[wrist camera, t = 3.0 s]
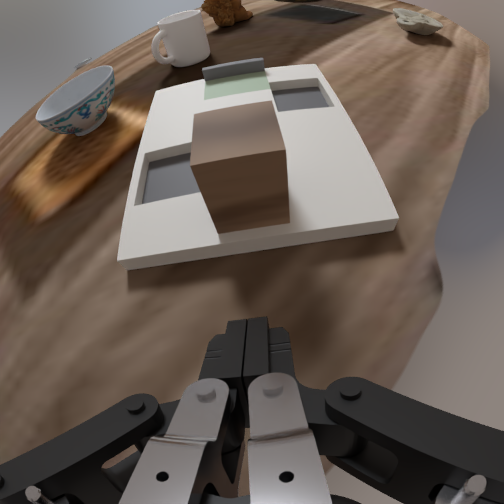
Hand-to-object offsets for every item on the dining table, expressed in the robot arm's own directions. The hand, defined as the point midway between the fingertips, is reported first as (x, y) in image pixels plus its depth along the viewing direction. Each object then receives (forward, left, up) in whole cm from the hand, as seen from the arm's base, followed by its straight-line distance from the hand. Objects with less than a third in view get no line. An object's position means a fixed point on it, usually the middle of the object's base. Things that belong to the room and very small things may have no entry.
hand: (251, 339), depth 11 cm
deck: (-6, +24, -11) cm, 27 cm away
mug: (-23, +50, -11) cm, 57 cm away
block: (-4, +14, -9) cm, 17 cm away
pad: (-9, +35, -11) cm, 38 cm away
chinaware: (-35, +32, -11) cm, 49 cm away
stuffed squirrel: (-21, +78, -11) cm, 81 cm away
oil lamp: (+29, +78, -11) cm, 84 cm away
